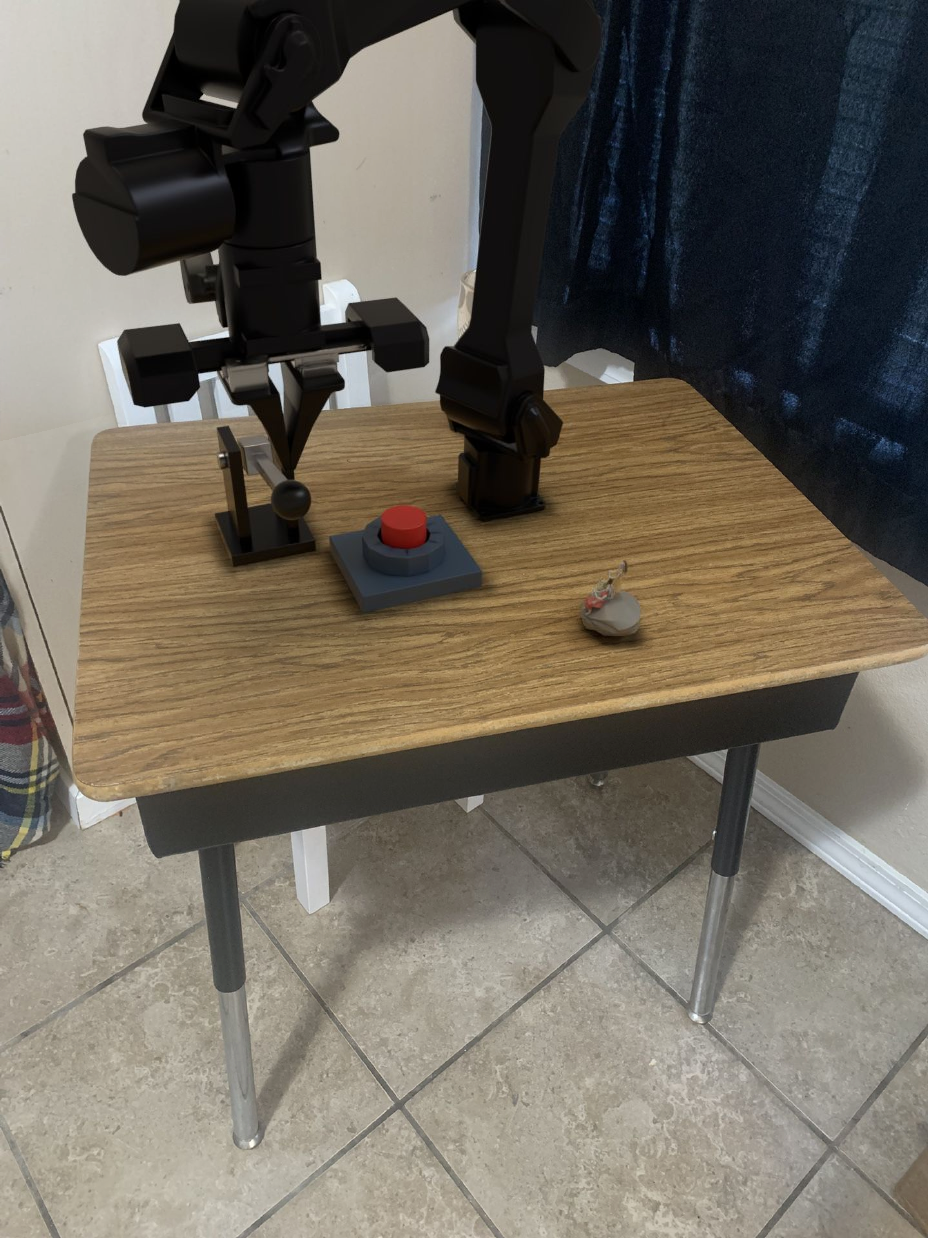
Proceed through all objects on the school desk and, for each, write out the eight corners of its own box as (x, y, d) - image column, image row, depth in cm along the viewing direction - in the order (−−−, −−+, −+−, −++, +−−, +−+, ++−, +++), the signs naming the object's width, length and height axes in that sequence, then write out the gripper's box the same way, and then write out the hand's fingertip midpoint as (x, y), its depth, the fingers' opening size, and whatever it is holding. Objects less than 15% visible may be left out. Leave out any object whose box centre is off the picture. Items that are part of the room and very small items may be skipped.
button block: (440, 530, 85) (441, 495, 83) (481, 587, 79) (483, 551, 77) (329, 552, 82) (327, 517, 80) (363, 614, 76) (361, 577, 73)
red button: (417, 522, 80) (417, 501, 79) (433, 545, 78) (433, 524, 76) (375, 531, 79) (374, 509, 78) (390, 554, 77) (389, 532, 75)
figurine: (647, 643, 74) (659, 579, 70) (593, 653, 73) (602, 588, 69) (619, 602, 78) (629, 539, 74) (567, 611, 77) (574, 547, 73)
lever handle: (318, 521, 68) (313, 483, 67) (278, 528, 68) (273, 490, 66) (271, 463, 81) (266, 430, 79) (237, 469, 80) (232, 435, 79)
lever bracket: (316, 551, 82) (308, 447, 76) (233, 568, 80) (218, 462, 74) (294, 510, 87) (285, 409, 81) (215, 524, 85) (200, 421, 79)
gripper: (373, 185, 66) (379, 398, 76) (85, 208, 60) (131, 437, 70) (433, 234, 58) (431, 466, 68) (107, 266, 52) (156, 515, 62)
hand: (288, 467), depth 67 cm, fingers closed
